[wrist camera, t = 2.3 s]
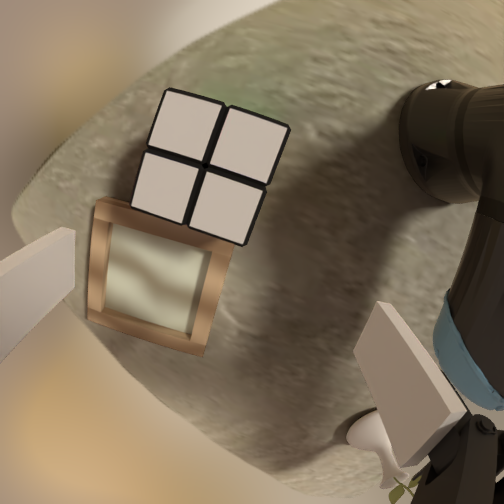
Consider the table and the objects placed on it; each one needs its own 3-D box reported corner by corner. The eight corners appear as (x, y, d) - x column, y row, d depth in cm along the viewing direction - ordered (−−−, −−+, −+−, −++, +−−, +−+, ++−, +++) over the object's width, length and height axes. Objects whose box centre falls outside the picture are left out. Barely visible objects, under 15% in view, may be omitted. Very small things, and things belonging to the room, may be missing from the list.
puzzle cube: (162, 190, 32) (126, 208, 22) (190, 103, 28) (164, 85, 19) (248, 219, 33) (245, 249, 23) (280, 132, 30) (293, 125, 20)
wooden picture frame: (106, 196, 32) (96, 200, 29) (237, 232, 33) (236, 239, 31) (95, 310, 37) (87, 319, 34) (205, 345, 38) (202, 357, 36)
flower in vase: (372, 443, 47) (401, 545, 24) (331, 433, 45) (356, 553, 22) (419, 403, 44) (469, 508, 20) (383, 389, 42) (434, 517, 18)
